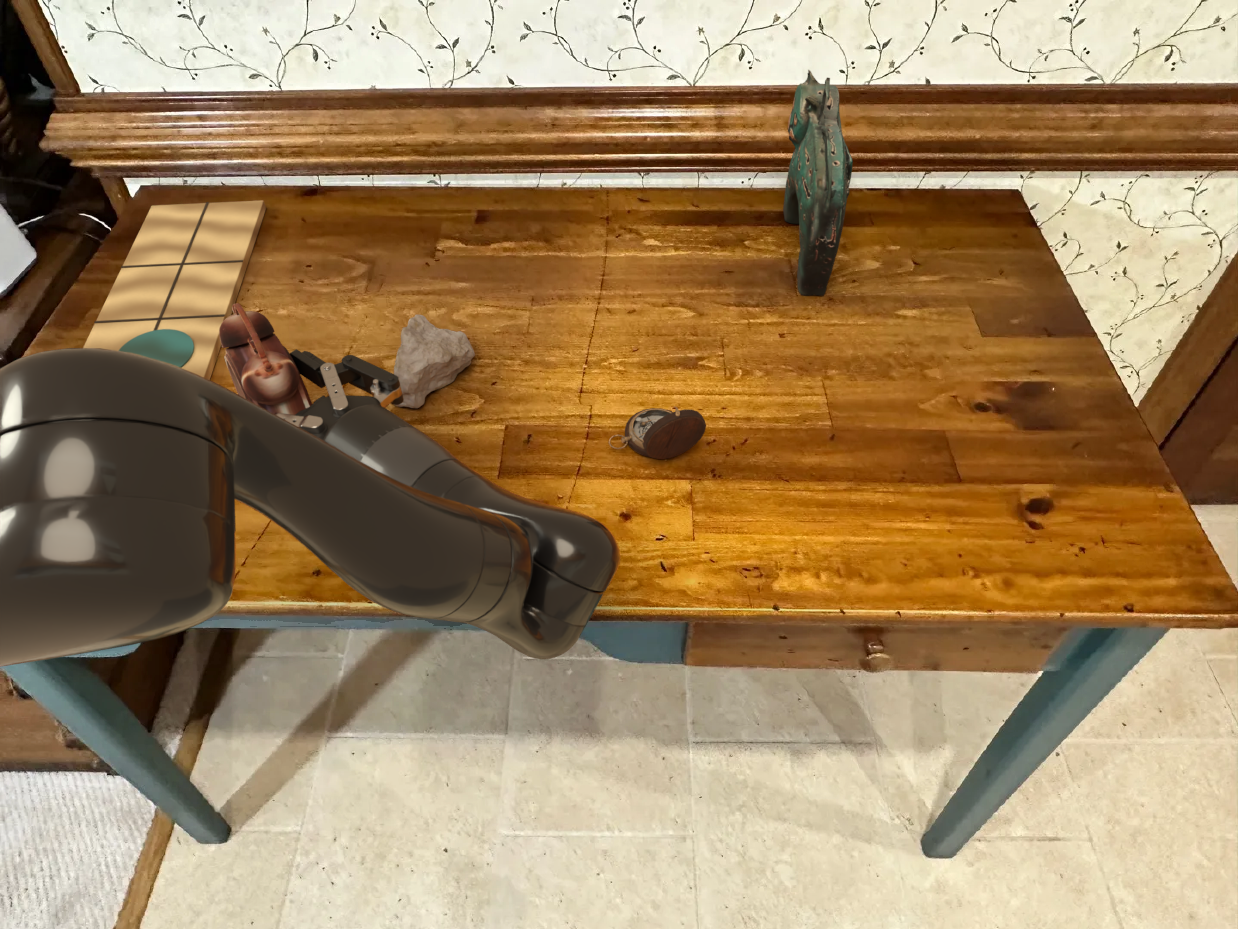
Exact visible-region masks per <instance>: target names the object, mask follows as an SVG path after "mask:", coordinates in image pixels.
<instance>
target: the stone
mask: <svg viewBox="0 0 1238 929" xmlns="http://www.w3.org/2000/svg"><path fill="white" fill-rule="evenodd" d="M475 356H476V353H475V351H474V348H473V346H472V344H471V341H470V340H469V339H468V336H467V334H466V333H465V332H463V331H461V330H459V331H455V330H451V329H448V328H439V327H437V326H435V325H434V324H433V323H431V322H430V321H429V320H428V318H427V317H426V316H425V315H423V314H415V315H414V316H413V317H411V318H409V319H408V322H407V326H403V327H402V328H401V332H400V346H399V347H398V349H397V352H396V357H395V360H394V367H393V374H394V375H396V376H398V379H399V383H400V386H401V390H402V394H403V398H404V400H403V402H402V403H401V404H399V405H394V406H395V407H398V408H403V407H406V408H410V409H418V408H420V407H421V406H423V405H425V402H426V401H425V400H426V397H427V395H429V394H430V393H431V392H433V391H436V390H440V389H442V388H445V387H446V386H449V385H450V384H452V383H453V382H454V381H455V380H456V378H457V376H458V374H460V373H461V372H462V371H463V370H465V368H467V367H469V366H470V365H471V364H472V359H473V358H474V357H475Z"/></svg>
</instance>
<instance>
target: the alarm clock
mask: <svg viewBox="0 0 1238 929" xmlns="http://www.w3.org/2000/svg"><path fill="white" fill-rule="evenodd" d="M232 310H233V311H232V313H233V314H231V316H229V317H228V318H226V319H225V320H224V321H223V322H222V324H221V326H220V328H219V336H220V341H221V348H223V349H224V348H225V354H224V361H225V364H226V367H227V370H228V372H229V375H230V378H231V381H232V383H233V385H234V389H235V391H236V392H237V393H236V394H238V395H240V396H242V397H244V398H245V399H247V400H249V401H251V402H253V403H255V404H257V405H258V406H260V407H262V408H264V409H266V410H268V411H269V412H271V413H273V414H275V413H284V414H291V415H295V414H297V413H298V412H300V411H302V410H304V409H306V408H308V407H310V406H311V405H312V404H313V402H312V400H311V397H310V394H309V392H308V389H307V387H306V385H305V382H304V380H303V376H302V375H301V374H300V373H299V371H298V369H297V367H296V365H295V363H294V361H293V359H292V357H291V355H290V353H291V352H289V350H288V349H287V348H286V347H285V346H284V345H283V343H282V342H281V340H280V338H279V337H278V335H276V333H275V329H274V327H273V324H271V322H270V320H269V319H268V318H267V317H266V315H264V314H262V313H261V312H259V311H254V310H245V309H244V307H243V306H242V305H241V304H240V303H239V302H237V303H236V302H235V304H233V305H232Z"/></svg>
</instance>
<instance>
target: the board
mask: <svg viewBox="0 0 1238 929" xmlns="http://www.w3.org/2000/svg"><path fill="white" fill-rule="evenodd" d="M266 210H267V206H266V203H265V201H264V200H243V201H242V200H241V201H222V202H220V201H219V202H210V201H206V202H201V203H200V202H199V203H178V204H177V203H176V204H154V205H151V206H150V208H149V210H148V212H147V214H146V217H145V219H144V220H143V223H142V225H141V226H140V230H139V231H138V233H137V235H136V237H135V239H134V241H133V243H132V246H131V248H130V250H129V252H128V254H127V256H126V258H125V260H124V262H123V264H122V265H121V266H120V270H119V273H118V274H117V277H116V279H115V281H114V283H113V284H112V287H111V289H110V290H109V293H108V294H107V298H106V299H105V302H104V304H103V306H102V307H101V310H100V312H99V314H98V316H97V318H96V320H95V321H94V322H93V323H94V324H93V326H92V329H91V330H90V332H89V335H88V337H87V338H86V341H85V342H84V345H83V347H82V348H101V349H109V350H116V351H122V352H129V353H134V354H138V355H142V356H146V357H149V358H153V359H156V360H159V361H163V362H166V363H169V364H172V365H175V366H178V367H180V368H183V369H185V370H188V371H190V372H193V373H195V374H197V375H199V376H201V377H204V378H206V379H208V380H210V381H211V377H212V374H213V371H214V368H215V365H216V361H217V359H218V356H219V353H220V350H221V348H222V344H221V341H220V336H219V328H220V326H221V324H222V322H223V321H224V320H225V319H226V318H228V317H229V316H231V315H233V314H232V313H233V310H232V305H233V304H236V301H237V298H238V295H239V292H240V289H241V287H242V283H243V280H244V277H245V274H246V271H247V268H248V265H249V262H250V259H251V256H252V253H253V250H254V247H255V244H256V240H257V238H258V235H259V231H260V229H261V226H262V223H263V220H264V216H265V214H266Z"/></svg>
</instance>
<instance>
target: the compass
mask: <svg viewBox="0 0 1238 929" xmlns="http://www.w3.org/2000/svg"><path fill="white" fill-rule="evenodd" d="M673 408H675V409H674V411H671V410H669V409H665V408H659V407H657V408H656V407H651V408H646V409H642V410H639V411H637V412H635V413H634V414H633V415H632V416H631V417H629V419H628V421H627V422H626V424H625V429H624V435H622V434H614V435H612V436H610V438H609V439H608V445H609V446H610V448H611V449H614V450H622V449H624V448H626V447H627V445H628V446H629V447H630V448H631V449H632V450H633V451H634V452H635V453H637V454H638V455H642V456H644V457H648V458H652V459H656V460H666V459H671V458H675V457H677V456H680V455H682V454H684V453H685V452H687V451H689V450H691V449H692V448H693V447H694V446H695V445H697V443H698V442H700V440H701V439H702V437H703V436H704V434H705V432H706V429H707V424H706V420H705V418H704V417H703V415H702V414H701V413H700V412H699V411H698V410H694V409H688V408H687V409H680V410H679V408H678V407H677V406H673ZM615 437H621V438H620V441H621V443H622V444H624V445H623V446H620V447H616V446H614V445H613V444H611V440H612V439H613V438H615Z"/></svg>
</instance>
